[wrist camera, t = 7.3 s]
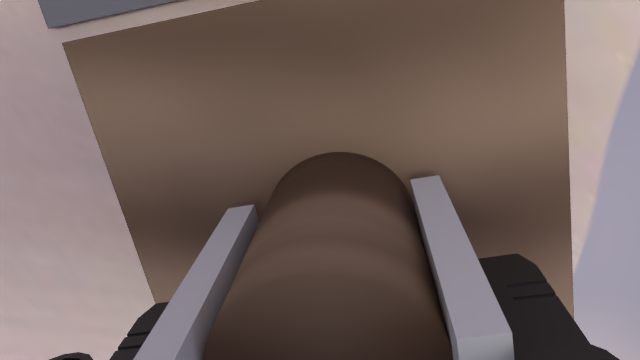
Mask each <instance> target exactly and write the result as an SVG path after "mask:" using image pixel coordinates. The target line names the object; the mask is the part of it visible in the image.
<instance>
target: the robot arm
mask: <svg viewBox="0 0 640 360" xmlns="http://www.w3.org/2000/svg"><path fill="white" fill-rule="evenodd" d="M410 182H411V189H412V195H413V202H414V209H415V214H416V217H417V221H418V225H419V228H420V232H421V236H422V240H423V243H424V247H425V251H426V254H427V258H428V262H429V265H430V269H431V273H432V276H433V280H434V284H435V288H436V291H437V295H438V299H439V302H440V306H441V310H442V313H443V317H444V321H445V325H446V328H447V332H448V336H449V339H450V343H451V347H452V354H453V360H619V359H618V358H616V357H615V356H614V355H612V354H611V353H609V352H608V351H607V350H604V349H602V348H599V347H596V346H594V345H591V344H590V343H589V342H588V340H587V339H586V337H585V336H584V334H583V333H582V331H581V330H580V328H579V327H578V325H577V324H576V322H575V321H574V319H573V318H572V316H571V315H570V313H569V312H568V310H567V309H566V308H565V306H564V305H563V303H562V302H561V300H560V299H559V297H558V296H556V294H555V291H554V290H553V288H552V287H551V285H550V284H549V283H547V279H546V278H545V277H544V275H543V274H542V272H541V271H540V269H539V268H538V266H537V265H536V264H534V263H533V262H531V261H529V260H528V259H526V258H524V257H523V256H521V255H519V254H518V253H517V254H509V255H502V256H494V257H487V258H479V259H478V258H477V256H476V254H475V252H474V250H473V247H472V245H471V243H470V241H469V239H468V237H467V235H466V232H465V230H464V228H463V226H462V224H461V222H460V219H459V217H458V215H457V213H456V211H455V209H454V207H453V204H452V202H451V200H450V198H449V196H448V194H447V191H446V189H445V187H444V185H443V183H442V181H441V179H440V176H439V175H436V176H430V177H424V178H417V179H411V180H410ZM258 224H259V221H258V217H257V214H256V210H255V206H254V204H253V205H246V206H240V207H234V208H228V210H227V211H226V213H225V214H224V216H223V217H222V219H221V221H220V222H219V224H218V225H217V227H216V229H215V230H214V232H213V233H212V235H211V237H210V238H209V240H208V241H207V243H206V245H205V246H204V248H203V249H202V251H201V252H200V254H199V256H198V257H197V259H196V260H195V262H194V264H193V265H192V267H191V268H190V270H189V272H188V273H187V275H186V276H185V278H184V280H183V281H182V283H181V284H180V286H179V287H178V289H177V291H176V292H175V294H174V295H173V297H172V299H171V300H170V302H162V303H156V304H155V305H154V306H153V307H151V308H150V309H149V310H148V311H146V312H145V313H144V314H143V315H142V316H140V317H139V318H138V319H137V321H136V322H135V324H134V325H133V327H132V328H131V330H130V331H129V332H128V334H127V337H125V338H124V340H123V341H122V343H121V344H120V345H119V347H118V351H115V353H114V354H113V356H112V357H111V358H110V360H203V354H204V349H205V345H206V342H207V339H208V337H209V334H210V332H211V330H212V327H213V325H214V323H215V321H216V318H217V316H218V314H219V312H220V309H221V307H222V305H223V303H224V301H225V298H226V296H227V294H228V292H229V289H230V287H231V285H232V283H233V280H234V278H235V276H236V274H237V271H238V269H239V267H240V265H241V263H242V260H243V258H244V256H245V254H246V251H247V249H248V247H249V245H250V242H251V240H252V238H253V236H254V233H255V231H256V229H257V227H258ZM50 360H93V359H92V358H91V356H90V355H89V354H84V353H79V352H77V353H70V354H64V355H61V356H58V357H55V358H52V359H50Z"/></svg>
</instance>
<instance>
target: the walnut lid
mask: <svg viewBox="0 0 640 360" xmlns="http://www.w3.org/2000/svg"><path fill="white" fill-rule="evenodd" d="M62 45H63V47H64V50H65V53H66V56H67V59H68V61H69V64H70V67H71V70H72V72H73V75H74V78H75V81H76V84H77V86H78V89H79V92H80V95H81V97H82V100H83V103H84V106H85V109H86V111H87V114H88V117H89V120H90V122H91V125H92V128H93V131H94V134H95V136H96V139H97V142H98V145H99V148H100V150H101V153H102V156H103V159H104V161H105V164H106V167H107V170H108V173H109V175H110V178H111V181H112V184H113V186H114V189H115V192H116V195H117V198H118V200H119V203H120V206H121V209H122V211H123V214H124V217H125V220H126V223H127V225H128V228H129V231H130V234H131V236H132V239H133V242H134V245H135V248H136V250H137V253H138V256H139V259H140V262H141V264H142V267H143V270H144V273H145V275H146V278H147V281H148V284H149V287H150V289H151V292H152V295H153V298H154V300H155V303H162V302H170V300H171V299H172V297H173V295H174V294H175V292H176V291H177V289H178V287H179V286H180V284H181V283H182V281H183V280H184V278H185V276H186V275H187V273H188V272H189V270H190V268H191V267H192V265H193V264H194V262H195V260H196V259H197V257H198V256H199V254H200V252H201V251H202V249H203V248H204V246H205V245H206V243H207V241H208V240H209V238H210V237H211V235H212V233H213V232H214V230H215V229H216V227H217V225H218V224H219V222H220V221H221V219H222V217H223V216H224V214H225V213H226V211H227V210H228V208H234V207H240V206H246V205H253V204H254V206H255V210H256V214H257V217H258V221H259V224H258V227H257V229H256V231H255V233H254V236H253V238H252V240H251V242H250V245H249V247H248V249H247V251H246V254H245V256H244V258H243V260H242V263H241V265H240V267H239V269H238V271H237V274H236V276H235V278H234V280H233V283H232V285H231V287H230V289H229V292H228V294H227V296H226V298H225V301H224V303H223V305H222V307H221V309H220V312H219V314H218V316H217V318H216V321H215V323H214V325H213V327H212V330H211V332H210V334H209V337H208V339H207V342H206V345H205V349H204V354H203V360H453V354H452V347H451V343H450V339H449V336H448V332H447V328H446V325H445V321H444V317H443V313H442V310H441V306H440V302H439V299H438V295H437V291H436V288H435V284H434V280H433V276H432V273H431V269H430V265H429V262H428V258H427V254H426V251H425V247H424V243H423V240H422V236H421V232H420V228H419V225H418V221H417V217H416V214H415V209H414V202H413V195H412V189H411V182H410V180H411V179H417V178H424V177H430V176H436V175H439V176H440V179H441V181H442V183H443V185H444V187H445V189H446V191H447V194H448V196H449V198H450V200H451V202H452V204H453V207H454V209H455V211H456V213H457V215H458V217H459V219H460V222H461V224H462V226H463V228H464V230H465V232H466V235H467V237H468V239H469V241H470V243H471V245H472V247H473V250H474V252H475V254H476V256H477V258H478V259H479V258H487V257H494V256H502V255H509V254H517V253H518V254H519V255H521V256H523V257H524V258H526V259H528V260H529V261H531V262H533V263H534V264H536V265H537V266H538V268H539V269H540V271H541V272H542V274H543V275H544V277H545V278H546V279H547V283H549V284H550V285H551V287H552V288H553V290H554V291H555V294H556V296H558V297H559V299H560V300H561V302H562V303H563V305H564V306H565V308H566V309H567V310H568V312H569V313H570V315H571V316H572V318H573V319H574V309H573V308H574V307H573V275H572V242H571V210H570V177H569V145H568V113H567V80H566V48H565V15H564V0H259V1H254V2H250V3H245V4H240V5H236V6H231V7H227V8H222V9H217V10H213V11H208V12H203V13H199V14H194V15H190V16H185V17H180V18H176V19H171V20H166V21H162V22H157V23H153V24H148V25H143V26H139V27H134V28H129V29H125V30H120V31H115V32H111V33H106V34H102V35H97V36H92V37H88V38H83V39H78V40H74V41H69V42H65V43H62Z"/></svg>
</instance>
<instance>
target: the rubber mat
mask: <svg viewBox="0 0 640 360" xmlns="http://www.w3.org/2000/svg"><path fill="white" fill-rule="evenodd" d="M174 1H179V0H38V2H39V5H40V8H41V10H42V13H43V16H44V18H45V21H46V24H47V27H48V29H49V28H57V27H61V26H66V25H70V24H75V23H79V22H84V21H88V20H93V19H97V18H102V17H106V16H111V15H115V14H120V13H125V12H129V11H134V10H138V9H143V8H147V7H152V6H156V5H161V4H165V3H170V2H174Z"/></svg>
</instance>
